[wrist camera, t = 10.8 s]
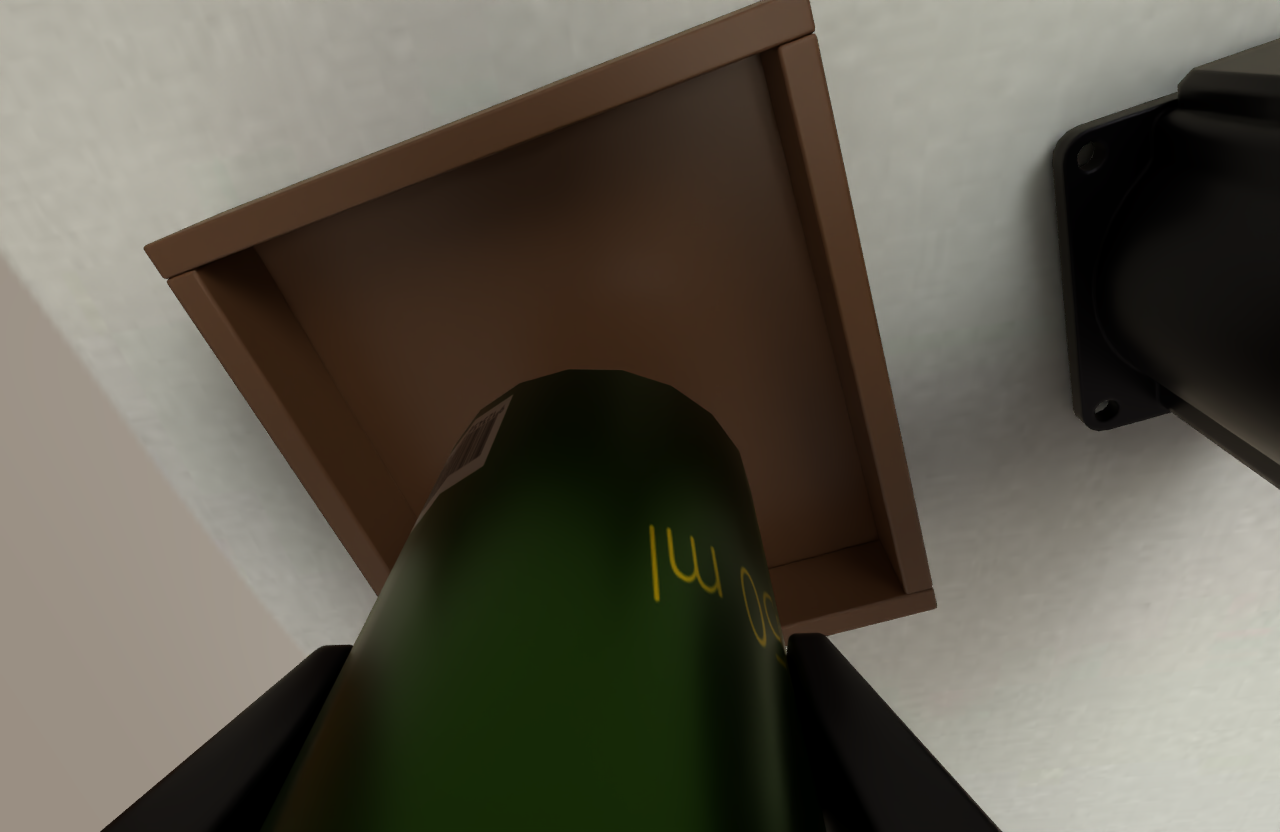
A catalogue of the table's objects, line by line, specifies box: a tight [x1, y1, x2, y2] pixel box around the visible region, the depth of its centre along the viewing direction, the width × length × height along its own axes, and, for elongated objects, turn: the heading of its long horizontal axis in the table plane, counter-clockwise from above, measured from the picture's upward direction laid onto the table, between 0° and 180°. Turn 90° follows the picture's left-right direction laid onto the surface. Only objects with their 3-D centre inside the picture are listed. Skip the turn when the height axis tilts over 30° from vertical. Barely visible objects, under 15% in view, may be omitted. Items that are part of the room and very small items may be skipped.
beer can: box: [259, 369, 826, 832], centre depth 8 cm, size 5×5×12 cm
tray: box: [144, 0, 937, 646], centre depth 15 cm, size 12×11×3 cm
